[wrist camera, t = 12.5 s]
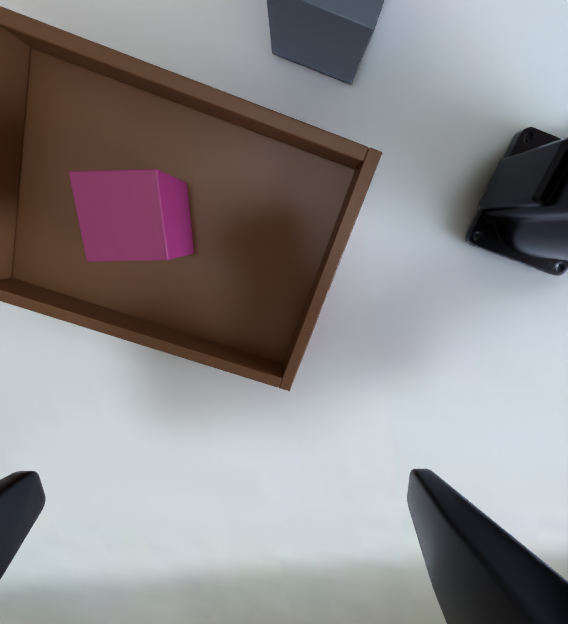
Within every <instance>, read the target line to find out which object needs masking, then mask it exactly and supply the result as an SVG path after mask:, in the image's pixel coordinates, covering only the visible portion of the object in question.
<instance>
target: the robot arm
mask: <svg viewBox="0 0 568 624" xmlns="http://www.w3.org/2000/svg"><path fill="white" fill-rule="evenodd" d="M525 135H526V136H527V137H528V140H527V142H525V141H524V136H525ZM479 206H480V208H479V210H478V212H477V214H476V216H475V218H474V220H473V222H472V224H471V226H470V228H469V230H468V232H467V235H466V241H467V243H468V244H470V245H472V246H475V247H477V248H480V249H483V250H486V251H488V252H491V253H494V254H496V255H499V256H502V257H505V258H507V259H510V260H513V261H516V262H518V263H521V264H524V265H526V266H529V267H532V268H535V269H537V270H540V271H543V272H546V273H548V274H552V275H562V274H564V273H565V272H566V271H567V270H568V137H567V138H564V139H560V138H558V137H556V136H553V135H551V134H548V133H546V132H543V131H541V130H538V129H536V128H533V127H529V128H526V129H523V130H521V131H520V132H518V133H517V134H516V136H515V137H514V139H513V141H512V144H511V146H510V148H509V150H508V152H507V154H506V156H505V158H504V159H503V160H501V161H500V162H499V164H498V166H497V168H496V170H495V172H494V174H493V176H492V178H491V180H490V183H489V185H488V187H487V189H486V191H485V193H484V195H483V197H482V199H481V201H480V203H479ZM476 233H477V234H478V239H477V240H476V241H475V240H474V235H475V234H476ZM558 264H559V267H558V269H557V270H556V266H557V265H558ZM407 501H408V507H409V510H410V514H411V517H412V520H413V524H414V527H415V530H416V534H417V537H418V540H419V544H420V547H421V550H422V554H423V557H424V560H425V563H426V567H427V570H428V573H429V577H430V580H431V583H432V586H433V589H434V591H435V594H436V597H437V599H438V602H439V605H440V607H441V610H442V612H443V615H444V617H445V620H446V622H447V624H568V581H567V580H566V579H564V578H563V577H562V576H561V575H559V574H558V573H557V572H556V571H554V570H553V569H552V568H551V567H550V566H548V565H547V564H546V563H545V562H543V561H542V560H541V559H540V558H538V557H537V556H536V555H535V554H534V553H532V552H531V551H530V550H529V549H527V548H526V547H525V546H524V545H522V544H521V543H520V542H519V541H518V540H516V539H515V538H514V537H513V536H511V535H510V534H509V533H508V532H506V531H505V530H504V529H503V528H501V527H500V526H499V525H498V524H497V523H495V522H494V521H493V520H492V519H490V518H489V517H488V516H487V515H485V514H484V513H483V512H482V511H481V510H479V509H478V508H477V507H476V506H474V505H473V504H472V503H471V502H469V501H468V500H467V499H466V498H465V497H463V496H462V495H461V494H460V493H458V492H457V491H456V490H455V489H453V488H452V487H451V486H450V485H448V484H447V483H446V482H445V481H444V480H442V479H441V478H440V477H439V476H437V475H436V474H435V473H434V472H432V471H431V470H429V469H413V470H411V472H410V476H409V485H408V494H407ZM44 504H45V493H44V490H43V487H42V484H41V480H40V477H39V475H38V473H37V472H35V471H18V472H15V473H12V474H11V475H9V476H7V477H5V478H3V479H1V480H0V579H1V577H2V576H3V574H4V573H5V571H6V569H7V568H8V566H9V564H10V563H11V561H12V559H13V558H14V556H15V554H16V553H17V551H18V549H19V548H20V546H21V544H22V543H23V541H24V539H25V538H26V536H27V534H28V533H29V531H30V529H31V528H32V526H33V524H34V523H35V521H36V519H37V518H38V516H39V514H40V513H41V511H42V509H43V507H44Z"/></svg>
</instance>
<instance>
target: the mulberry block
mask: <svg viewBox="0 0 568 624" xmlns="http://www.w3.org/2000/svg"><path fill="white" fill-rule="evenodd" d="M69 176H70V181H71V186H72V191H73V196H74V201H75V206H76V211H77V216H78V221H79V226H80V231H81V236H82V241H83V246H84V251H85V256H86V260H87V261H88V262H100V261H150V260H170V259H174V258H178V257H182V256H186V255H190V254H193V253H194V248H193V238H192V228H191V218H190V209H189V199H188V189H187V183H186V182H184V181H182V180H179V179H177V178H175V177H173V176H170V175H168V174H166V173H164V172H162V171H159V170H157V169H135V170H98V171H70V172H69Z"/></svg>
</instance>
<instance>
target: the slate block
mask: <svg viewBox="0 0 568 624" xmlns="http://www.w3.org/2000/svg"><path fill="white" fill-rule="evenodd" d="M383 2H384V0H267V6H268V16H269V26H270V37H271V47H272V53H273V54H276V55H278V56H281V57H283V58H286V59H288V60H291V61H294V62H296V63H299V64H301V65H304V66H306V67H309V68H311V69H314V70H316V71H319V72H321V73H324V74H326V75H329V76H331V77H334V78H336V79H339V80H341V81H344V82H346V83H349V84H351V83H352V81H353V78H354V76H355V74H356V71H357V69H358V66H359V64H360V62H361V59H362V57H363V55H364V52H365V50H366V48H367V45H368V43H369V40H370V38H371V36H372V33H373V31H374V28H375V26H376V23H377V20H378V17H379V14H380V11H381V8H382V5H383Z"/></svg>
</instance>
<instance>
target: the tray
mask: <svg viewBox="0 0 568 624" xmlns="http://www.w3.org/2000/svg"><path fill="white" fill-rule="evenodd" d="M381 155H382V152H381V151H378V150H375V149H373V148H369V149H368V147H367V146H364V145H362V144H359V143H356V142H354V141H351V140H349V139H346V138H343V137H341V136H338V135H335V134H333V133H330V132H328V131H325V130H322V129H320V128H317V127H315V126H312V125H309V124H307V123H304V122H302V121H299V120H296V119H294V118H291V117H288V116H286V115H283V114H281V113H278V112H275V111H273V110H270V109H268V108H265V107H262V106H260V105H257V104H254V103H252V102H249V101H247V100H244V99H241V98H239V97H236V96H234V95H231V94H228V93H226V92H223V91H220V90H218V89H215V88H213V87H210V86H207V85H205V84H202V83H200V82H197V81H194V80H192V79H189V78H187V77H184V76H181V75H179V74H176V73H173V72H171V71H168V70H166V69H163V68H160V67H158V66H155V65H153V64H150V63H147V62H145V61H142V60H139V59H137V58H134V57H132V56H129V55H126V54H124V53H121V52H119V51H116V50H113V49H111V48H108V47H105V46H103V45H100V44H98V43H95V42H92V41H90V40H87V39H85V38H82V37H79V36H77V35H74V34H71V33H69V32H66V31H64V30H61V29H58V28H56V27H53V26H51V25H48V24H45V23H43V22H40V21H38V20H35V19H32V18H30V17H27V16H24V15H22V14H19V13H17V12H14V11H11V10H9V9H6V8H4V7H1V6H0V301H2V302H6V303H9V304H12V305H15V306H18V307H22V308H25V309H28V310H31V311H34V312H38V313H41V314H44V315H47V316H50V317H54V318H57V319H60V320H63V321H67V322H70V323H73V324H76V325H79V326H83V327H86V328H89V329H92V330H95V331H99V332H102V333H105V334H108V335H111V336H115V337H118V338H121V339H124V340H127V341H131V342H134V343H137V344H140V345H144V346H147V347H150V348H153V349H156V350H160V351H163V352H166V353H169V354H172V355H176V356H179V357H182V358H185V359H188V360H192V361H195V362H198V363H201V364H204V365H208V366H211V367H214V368H217V369H221V370H224V371H227V372H230V373H233V374H237V375H240V376H243V377H246V378H249V379H253V380H256V381H259V382H262V383H265V384H269V385H272V386H275V387H279V388H281V389H284V390H288V391H290V388H291V386H292V383H293V381H294V378H295V376H296V373H297V370H298V368H299V365H300V363H301V360H302V358H303V355H304V352H305V350H306V347H307V345H308V342H309V340H310V337H311V334H312V332H313V329H314V327H315V324H316V322H317V319H318V317H319V314H320V311H321V309H322V306H323V304H324V301H325V299H326V296H327V293H328V291H329V288H330V286H331V283H332V281H333V278H334V275H335V273H336V270H337V268H338V265H339V263H340V260H341V257H342V255H343V252H344V250H345V247H346V245H347V242H348V239H349V237H350V234H351V232H352V229H353V227H354V224H355V221H356V219H357V216H358V214H359V211H360V209H361V206H362V203H363V201H364V198H365V196H366V193H367V191H368V188H369V185H370V183H371V180H372V178H373V175H374V173H375V170H376V167H377V165H378V162H379V160H380V157H381ZM135 169H157V170H159V171H162V172H164V173H166V174H168V175H170V176H173V177H175V178H177V179H179V180H182V181H184V182H186V183H187V189H188V199H189V209H190V218H191V228H192V238H193V248H194V253H193V254H190V255H186V256H182V257H178V258H174V259H170V260H150V261H100V262H88V261H87V260H86V256H85V251H84V246H83V241H82V236H81V231H80V226H79V221H78V216H77V211H76V206H75V201H74V196H73V191H72V186H71V181H70V176H69V172H70V171H98V170H135Z"/></svg>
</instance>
